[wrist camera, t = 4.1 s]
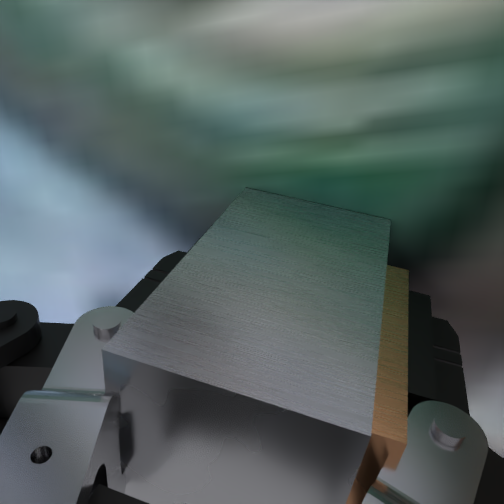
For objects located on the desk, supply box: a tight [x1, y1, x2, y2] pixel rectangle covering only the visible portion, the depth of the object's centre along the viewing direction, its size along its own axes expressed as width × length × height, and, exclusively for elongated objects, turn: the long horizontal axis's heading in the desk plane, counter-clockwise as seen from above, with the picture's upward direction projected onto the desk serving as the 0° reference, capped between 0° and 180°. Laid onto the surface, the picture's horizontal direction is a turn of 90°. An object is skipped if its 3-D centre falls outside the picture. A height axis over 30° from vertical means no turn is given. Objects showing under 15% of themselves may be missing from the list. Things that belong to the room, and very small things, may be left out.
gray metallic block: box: [102, 188, 409, 504], centre depth 10 cm, size 4×5×7 cm
